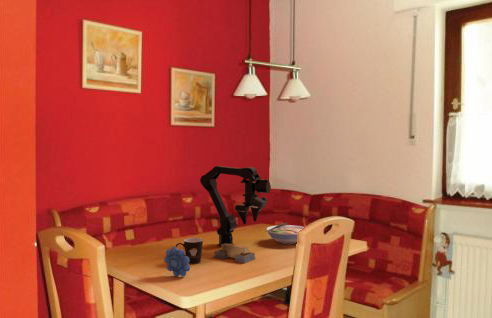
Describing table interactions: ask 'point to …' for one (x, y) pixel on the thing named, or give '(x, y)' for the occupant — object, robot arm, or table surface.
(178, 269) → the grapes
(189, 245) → the coffee mug
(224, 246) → the brown rectangular block
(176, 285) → the table surface
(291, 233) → the ramen bowl
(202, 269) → the table surface
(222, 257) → the grey frame
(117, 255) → the table surface
